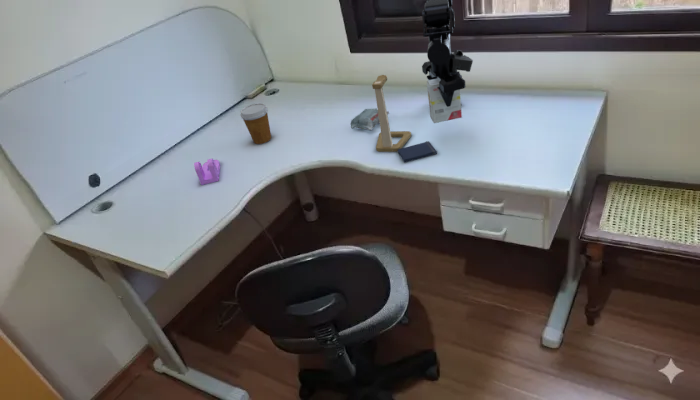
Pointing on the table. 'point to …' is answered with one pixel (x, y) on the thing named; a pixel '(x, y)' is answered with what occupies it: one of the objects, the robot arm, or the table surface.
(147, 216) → the table surface
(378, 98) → the headphone stand
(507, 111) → the table surface
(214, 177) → the bracket
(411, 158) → the notepad
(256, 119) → the disposable coffee cup
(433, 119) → the ink box
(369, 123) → the packaged food
